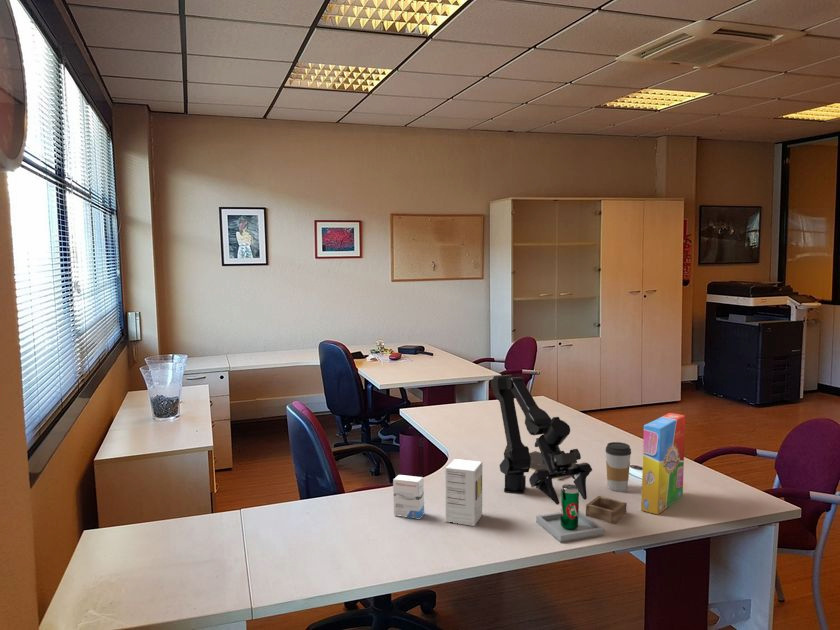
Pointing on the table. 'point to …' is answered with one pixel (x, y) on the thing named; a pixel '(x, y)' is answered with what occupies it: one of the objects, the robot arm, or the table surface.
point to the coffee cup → (618, 465)
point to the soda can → (569, 506)
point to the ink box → (408, 496)
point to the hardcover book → (541, 463)
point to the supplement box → (463, 491)
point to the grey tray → (583, 531)
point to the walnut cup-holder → (606, 509)
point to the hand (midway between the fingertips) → (572, 501)
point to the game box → (663, 462)
